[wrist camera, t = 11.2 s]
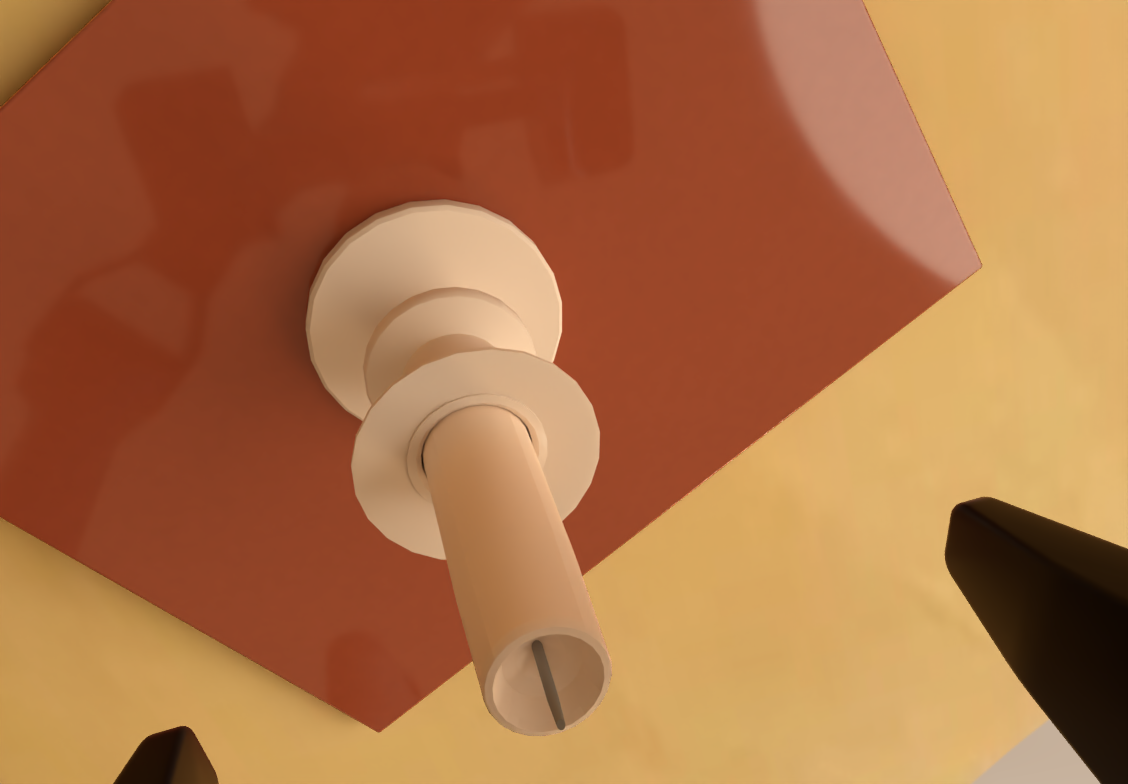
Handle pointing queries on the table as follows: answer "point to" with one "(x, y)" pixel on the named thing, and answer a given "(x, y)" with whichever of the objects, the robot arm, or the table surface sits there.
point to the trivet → (420, 173)
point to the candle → (470, 438)
